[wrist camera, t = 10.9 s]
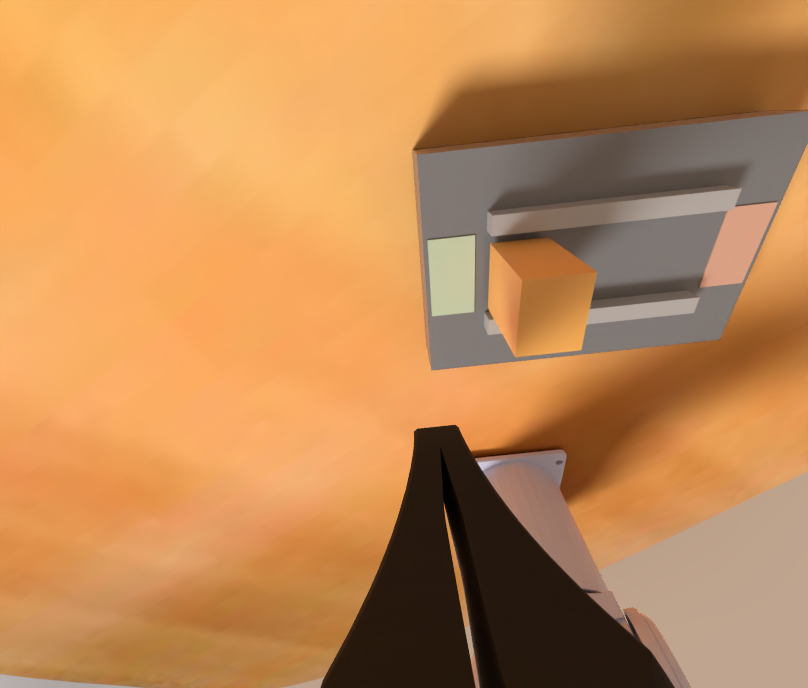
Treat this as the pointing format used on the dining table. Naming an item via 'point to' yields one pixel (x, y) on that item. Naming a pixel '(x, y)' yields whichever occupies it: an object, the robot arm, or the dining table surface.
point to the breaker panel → (605, 225)
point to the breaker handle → (539, 296)
